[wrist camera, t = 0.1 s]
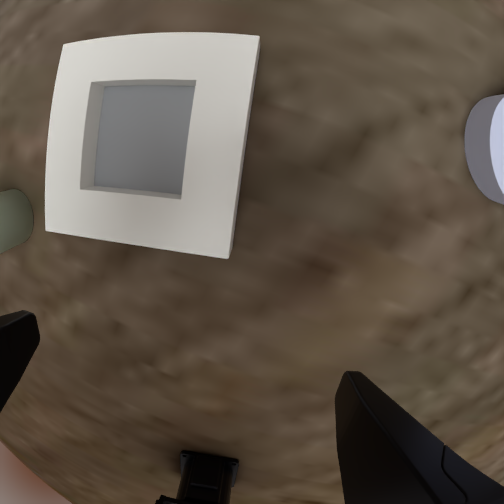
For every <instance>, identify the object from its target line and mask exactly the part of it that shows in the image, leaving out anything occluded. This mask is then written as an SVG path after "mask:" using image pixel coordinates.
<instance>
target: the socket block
mask: <svg viewBox="0 0 504 504" xmlns="http://www.w3.org/2000/svg"><path fill="white" fill-rule="evenodd" d="M259 54H260V37H259V36H253V35H242V34H228V33H206V32H169V33H147V34H133V35H122V36H113V37H105V38H98V39H91V40H85V41H79V42H73V43H68V44H64V45H63V49H62V53H61V58H60V62H59V67H58V72H57V77H56V82H55V88H54V94H53V101H52V107H51V115H50V123H49V132H48V143H47V156H46V176H45V226H46V231H50V232H56V233H63V234H69V235H75V236H81V237H87V238H94V239H100V240H106V241H113V242H119V243H125V244H132V245H138V246H145V247H151V248H158V249H164V250H171V251H177V252H184V253H191V254H197V255H204V256H211V257H217V258H224V259H229V256H230V253H231V251H232V248H233V240H234V232H235V224H236V216H237V208H238V201H239V193H240V185H241V178H242V171H243V163H244V156H245V149H246V142H247V135H248V128H249V121H250V114H251V107H252V100H253V93H254V87H255V80H256V73H257V67H258V60H259Z"/></svg>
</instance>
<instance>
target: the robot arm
mask: <svg viewBox="0 0 504 504" xmlns="http://www.w3.org/2000/svg"><path fill="white" fill-rule="evenodd" d="M39 342H40V334H39V329H38V324H37V320H36V316H35V315H34V314H33V313H31V312H28V311H25V310H22V311H18V312H14V313H11V314H7V315H3V316H0V412H1V411H2V409H3V407H4V405H5V404H6V402H7V400H8V399H9V397H10V395H11V394H12V392H13V391H14V389H15V387H16V386H17V384H18V382H19V381H20V379H21V377H22V375H23V373H24V371H25V369H26V367H27V365H28V363H29V362H30V360H31V358H32V356H33V354H34V352H35V350H36V348H37V346H38V345H39ZM335 414H336V441H337V452H338V459H339V466H340V472H341V479H342V486H343V493H344V500H345V504H504V487H503V486H502V485H500V484H499V483H497V482H496V481H494V480H492V479H491V478H489V477H488V476H486V475H485V474H483V473H482V472H480V471H479V470H478V469H476V468H475V467H473V466H472V465H470V464H469V463H468V462H466V461H465V460H464V459H463V458H461V457H460V456H459V455H457V454H456V453H455V452H454V451H453V450H451V449H450V448H449V447H448V446H447V445H444V443H443V442H442V441H441V440H439V439H438V438H437V437H436V436H435V435H433V434H432V433H431V432H430V431H429V430H427V429H426V428H425V427H424V426H423V425H422V424H420V423H419V422H418V421H417V420H416V419H415V418H413V417H412V416H411V415H410V414H409V413H408V412H406V411H405V410H404V409H403V408H402V407H401V406H399V405H398V404H397V403H396V402H395V401H394V400H392V399H391V398H390V397H389V396H388V395H387V394H385V393H384V392H383V391H382V390H381V389H380V388H378V387H377V386H376V385H375V384H374V383H373V382H372V381H370V380H369V379H368V378H367V377H366V376H365V375H364V374H362V373H361V372H359V371H346V372H345V373H344V374H343V376H342V379H341V382H340V384H339V387H338V389H337V392H336V395H335ZM180 463H181V481H180V485H179V489H178V493H177V497H176V499H174V498H170V497H166V496H164V495H161V496H160V499H159V500H156V503H155V504H229V503H230V494H231V487H234V483H235V479H236V474H237V470H238V466H239V461H238V460H235V459H228V458H221V457H215V456H209V455H203V454H197V453H192V452H187V451H182V452H181V454H180Z"/></svg>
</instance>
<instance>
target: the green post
mask: <svg viewBox="0 0 504 504" xmlns="http://www.w3.org/2000/svg"><path fill="white" fill-rule="evenodd" d="M32 230H33V211H32V207H31V204H30V202H29V200H28V198H27V197H26V196H25V194H24V193H23V192H21V191H20V190H17V189H11V190H7V191H3V192H0V254H1V253H3V252H5V251H7V250H9V249H11V248H13V247H15V246H17V245H19V244H21V243H24V242H25V241H27V240H28V238H29V237H30V235H31V233H32Z"/></svg>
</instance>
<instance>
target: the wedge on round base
mask: <svg viewBox="0 0 504 504" xmlns="http://www.w3.org/2000/svg"><path fill="white" fill-rule="evenodd" d="M465 154H466V159H467V164H468V167H469V170H470V173H471V175H472V178H473V180H474V182H475V183H476V185H477V186H478V188H479V189H480V191H481V192H482V193H483V194H484V195H485V196H486V197H488V198H489V199H491V200H493V201H495V202H498V203H501V204H504V94H502V95H496V96H490V97H486V98H483V99H481V100H480V101H479V102H478V103H477V104H476V105H475V106H474V107H473V109H472V110H471V112H470V114H469V117H468V120H467V123H466V128H465Z"/></svg>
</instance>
